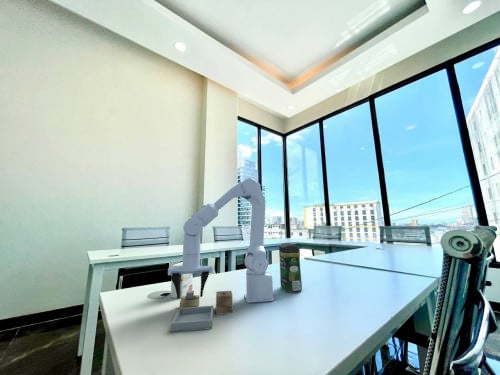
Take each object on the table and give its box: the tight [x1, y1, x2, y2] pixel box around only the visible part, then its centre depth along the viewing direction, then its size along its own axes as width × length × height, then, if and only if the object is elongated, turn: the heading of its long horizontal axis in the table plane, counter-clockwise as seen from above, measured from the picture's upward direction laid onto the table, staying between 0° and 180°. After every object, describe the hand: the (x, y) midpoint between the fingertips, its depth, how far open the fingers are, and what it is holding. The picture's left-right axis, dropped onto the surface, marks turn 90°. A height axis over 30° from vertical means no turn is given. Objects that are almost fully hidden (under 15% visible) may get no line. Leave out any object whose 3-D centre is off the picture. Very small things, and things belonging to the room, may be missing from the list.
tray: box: [170, 305, 214, 333], centre depth 58 cm, size 10×10×2 cm
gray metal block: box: [186, 290, 195, 300], centre depth 68 cm, size 2×2×5 cm
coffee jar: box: [278, 242, 303, 293], centre depth 87 cm, size 10×8×19 cm
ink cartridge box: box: [170, 257, 194, 299], centre depth 83 cm, size 9×5×15 cm, turn 168°
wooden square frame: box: [179, 294, 201, 308], centre depth 68 cm, size 6×6×3 cm
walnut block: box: [215, 290, 233, 315], centre depth 66 cm, size 5×5×5 cm
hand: (190, 296), depth 69 cm, fingers open, 7 cm apart
